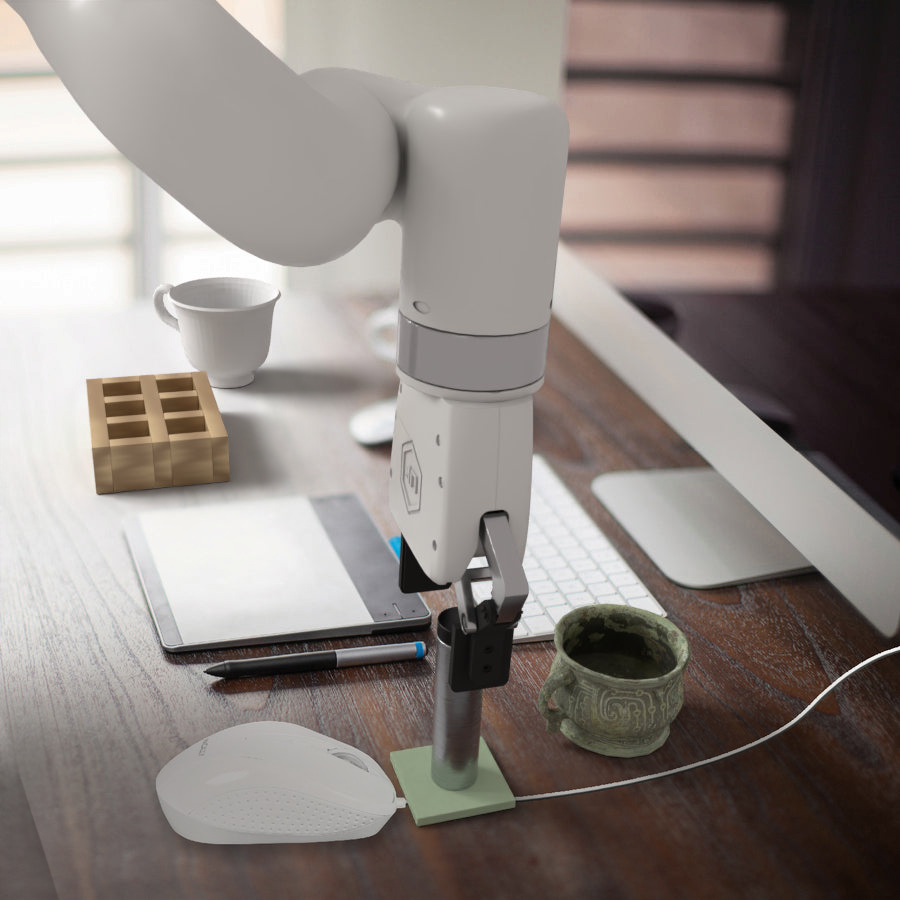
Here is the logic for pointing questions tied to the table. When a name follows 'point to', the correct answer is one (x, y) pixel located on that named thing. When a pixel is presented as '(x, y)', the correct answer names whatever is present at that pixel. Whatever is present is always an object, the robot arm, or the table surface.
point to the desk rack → (156, 432)
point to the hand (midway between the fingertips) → (449, 634)
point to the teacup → (222, 325)
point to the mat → (449, 804)
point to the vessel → (615, 679)
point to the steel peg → (453, 718)
